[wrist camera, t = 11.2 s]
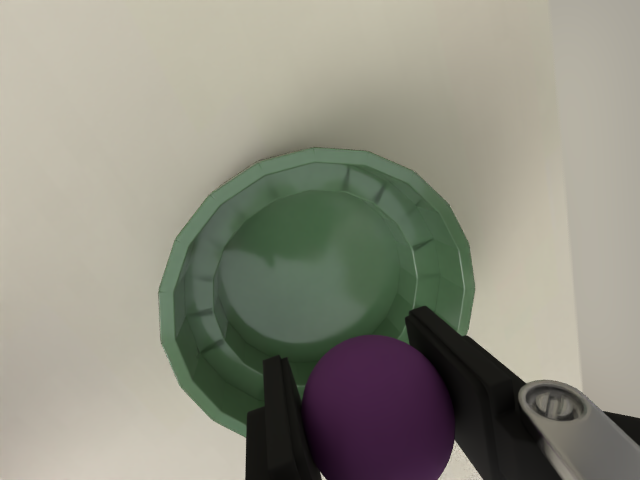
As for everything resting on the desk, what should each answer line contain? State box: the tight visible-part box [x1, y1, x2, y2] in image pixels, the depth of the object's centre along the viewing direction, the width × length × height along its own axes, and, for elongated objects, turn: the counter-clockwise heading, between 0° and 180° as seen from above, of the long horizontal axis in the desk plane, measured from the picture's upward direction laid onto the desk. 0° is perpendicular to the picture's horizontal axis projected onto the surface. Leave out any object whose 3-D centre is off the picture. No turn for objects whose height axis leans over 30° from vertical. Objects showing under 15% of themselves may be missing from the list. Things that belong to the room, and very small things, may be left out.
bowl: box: [158, 147, 475, 437], centre depth 18 cm, size 14×14×5 cm
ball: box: [301, 335, 455, 480], centre depth 9 cm, size 4×4×4 cm
